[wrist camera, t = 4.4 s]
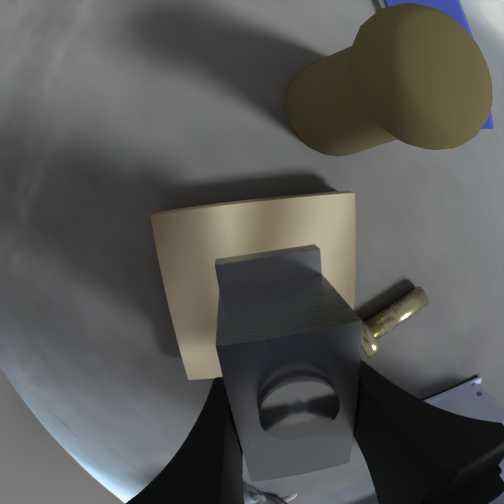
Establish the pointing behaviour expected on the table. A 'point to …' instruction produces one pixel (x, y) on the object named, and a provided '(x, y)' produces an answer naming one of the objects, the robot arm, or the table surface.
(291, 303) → the housing
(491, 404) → the robot arm
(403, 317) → the loose bolt
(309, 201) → the stand
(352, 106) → the cork
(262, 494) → the brake caliper
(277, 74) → the table surface
